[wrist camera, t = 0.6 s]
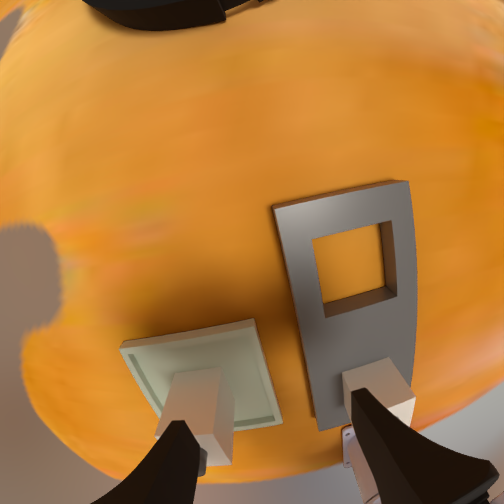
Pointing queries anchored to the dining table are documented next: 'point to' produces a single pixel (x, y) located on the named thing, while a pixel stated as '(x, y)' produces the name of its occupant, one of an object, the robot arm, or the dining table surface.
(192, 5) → the headphones
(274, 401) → the tray
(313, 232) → the power strip
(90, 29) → the dining table surface
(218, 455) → the plug
